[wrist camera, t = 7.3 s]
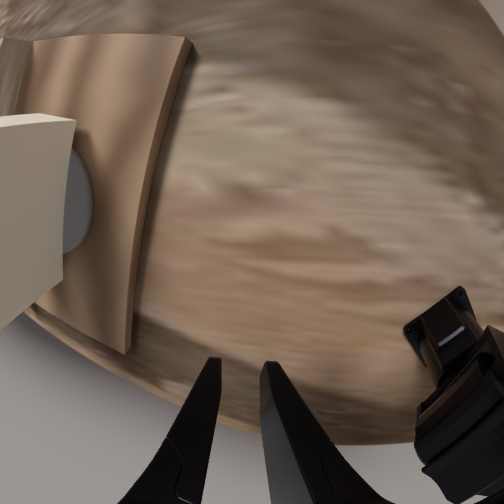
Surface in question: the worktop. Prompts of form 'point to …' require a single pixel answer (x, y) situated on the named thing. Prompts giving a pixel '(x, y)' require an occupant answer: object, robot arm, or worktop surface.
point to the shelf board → (101, 156)
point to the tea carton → (38, 206)
